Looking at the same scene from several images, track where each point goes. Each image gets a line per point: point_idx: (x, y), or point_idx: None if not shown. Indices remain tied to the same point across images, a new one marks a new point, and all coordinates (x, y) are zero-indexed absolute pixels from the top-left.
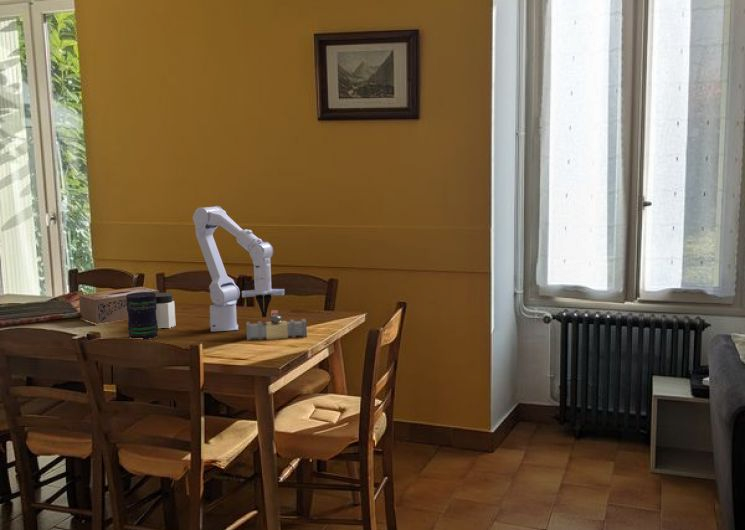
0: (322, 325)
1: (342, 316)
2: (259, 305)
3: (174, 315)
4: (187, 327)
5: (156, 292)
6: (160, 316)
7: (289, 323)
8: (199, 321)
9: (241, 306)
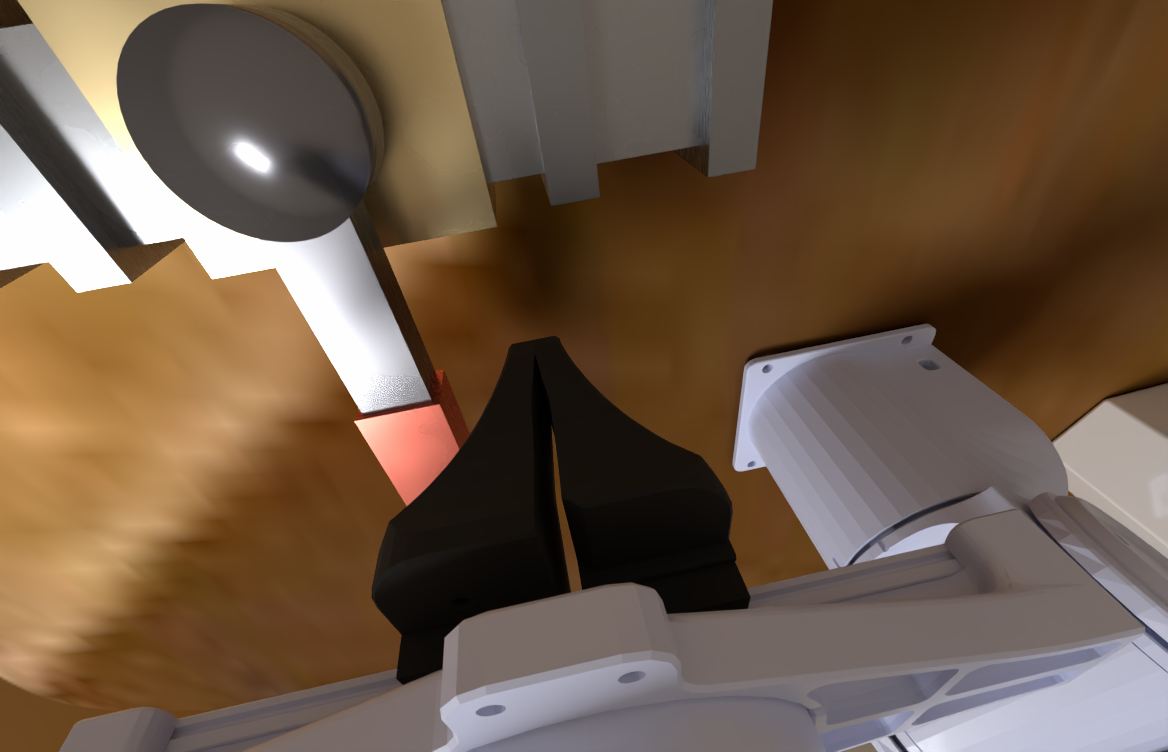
0: (108, 501)
1: (126, 660)
2: (620, 414)
3: (1111, 490)
4: None
5: None
6: None
7: (43, 101)
8: None
9: None
